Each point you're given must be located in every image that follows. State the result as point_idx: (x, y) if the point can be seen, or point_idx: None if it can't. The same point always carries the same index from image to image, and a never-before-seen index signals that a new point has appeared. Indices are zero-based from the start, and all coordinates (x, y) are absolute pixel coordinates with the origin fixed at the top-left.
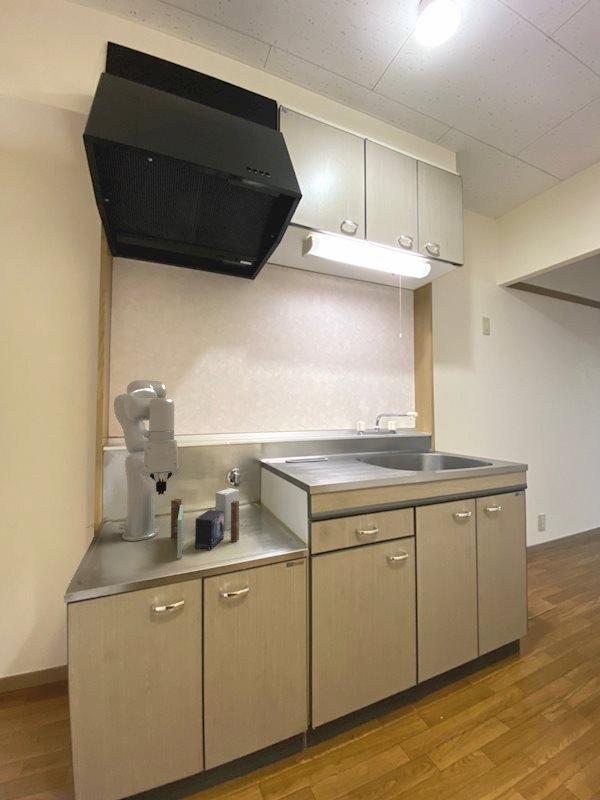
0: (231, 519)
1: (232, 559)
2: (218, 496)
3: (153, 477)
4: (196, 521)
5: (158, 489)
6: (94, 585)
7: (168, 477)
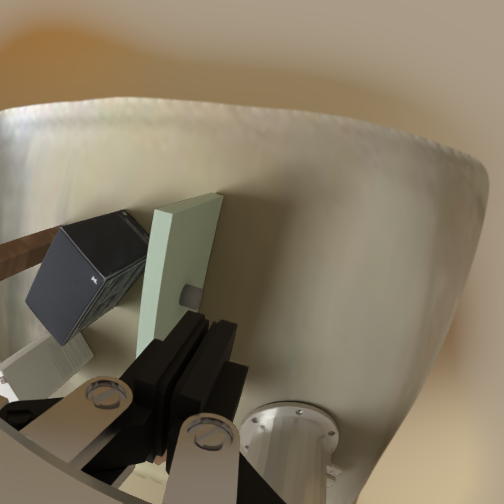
0: (22, 251)
1: (93, 118)
2: (27, 395)
3: (249, 492)
4: (108, 271)
5: (222, 348)
6: (455, 168)
7: (60, 406)
